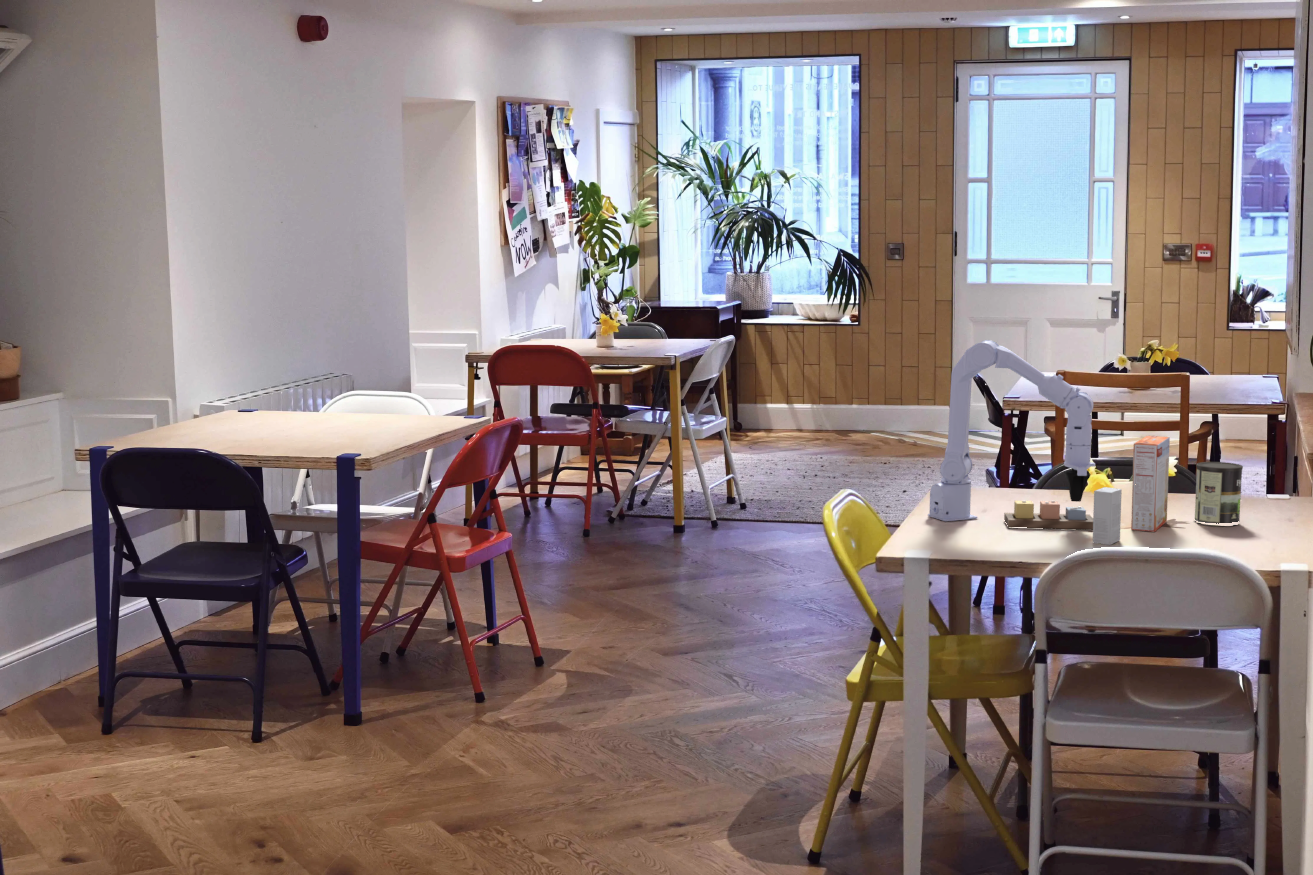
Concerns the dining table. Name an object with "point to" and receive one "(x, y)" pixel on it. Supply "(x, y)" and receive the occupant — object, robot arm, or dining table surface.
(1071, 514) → the light blue cube
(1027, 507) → the yellow cube
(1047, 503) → the two dot tile
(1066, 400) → the robot arm
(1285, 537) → the dining table surface
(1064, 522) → the brown flat board
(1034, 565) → the dining table surface
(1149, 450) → the cracker box
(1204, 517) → the coffee can
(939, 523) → the dining table surface
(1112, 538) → the skincare box
